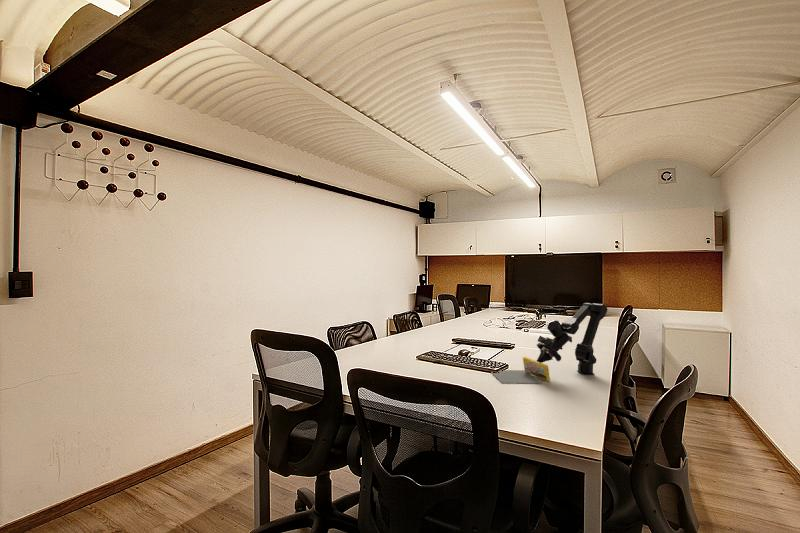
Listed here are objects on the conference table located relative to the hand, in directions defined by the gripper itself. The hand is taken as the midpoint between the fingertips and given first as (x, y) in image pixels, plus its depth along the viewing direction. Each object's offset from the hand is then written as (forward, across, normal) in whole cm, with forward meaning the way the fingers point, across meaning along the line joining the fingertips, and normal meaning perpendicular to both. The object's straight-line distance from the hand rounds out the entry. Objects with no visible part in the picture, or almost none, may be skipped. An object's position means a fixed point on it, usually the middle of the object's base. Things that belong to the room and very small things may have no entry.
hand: (536, 363), depth 200 cm
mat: (+14, 0, -3) cm, 14 cm away
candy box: (+5, 0, +5) cm, 7 cm away
